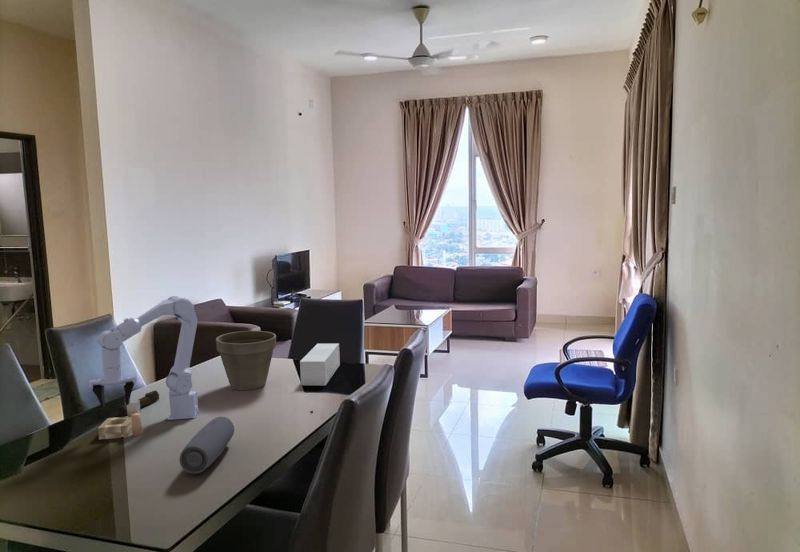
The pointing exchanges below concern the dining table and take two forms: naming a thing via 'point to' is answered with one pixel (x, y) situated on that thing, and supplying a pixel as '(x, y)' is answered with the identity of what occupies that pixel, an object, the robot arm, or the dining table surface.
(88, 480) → the dining table surface
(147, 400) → the hand tool
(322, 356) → the long white block
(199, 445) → the bluetooth speaker
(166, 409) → the dining table surface
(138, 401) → the square bit
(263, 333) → the plant pot
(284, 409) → the dining table surface
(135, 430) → the round dowel
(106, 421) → the socket block
